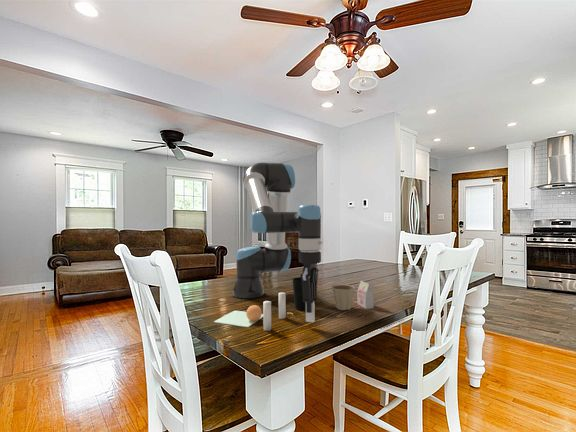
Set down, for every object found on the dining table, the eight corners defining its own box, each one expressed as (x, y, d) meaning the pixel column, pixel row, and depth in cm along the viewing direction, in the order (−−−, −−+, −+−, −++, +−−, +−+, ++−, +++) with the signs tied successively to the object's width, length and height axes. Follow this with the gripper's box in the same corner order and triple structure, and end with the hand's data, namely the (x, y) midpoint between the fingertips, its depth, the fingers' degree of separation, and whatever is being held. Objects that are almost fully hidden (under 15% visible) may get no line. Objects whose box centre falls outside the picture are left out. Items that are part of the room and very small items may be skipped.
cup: (309, 311, 114) (309, 281, 114) (291, 310, 115) (290, 280, 116) (312, 306, 121) (311, 277, 122) (294, 305, 123) (294, 276, 123)
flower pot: (330, 304, 123) (330, 284, 123) (352, 304, 122) (352, 284, 123) (333, 311, 113) (333, 289, 114) (357, 311, 113) (357, 289, 113)
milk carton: (364, 303, 124) (364, 280, 124) (373, 308, 118) (373, 283, 118) (357, 304, 123) (356, 281, 123) (365, 309, 117) (365, 284, 117)
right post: (280, 316, 108) (280, 292, 109) (286, 316, 107) (286, 292, 108) (277, 318, 106) (277, 293, 106) (284, 319, 105) (283, 294, 105)
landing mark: (234, 310, 115) (234, 310, 115) (266, 314, 110) (266, 314, 110) (213, 322, 102) (213, 321, 102) (247, 327, 97) (247, 326, 97)
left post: (265, 327, 97) (265, 300, 97) (272, 328, 96) (272, 301, 96) (262, 330, 94) (261, 302, 94) (269, 331, 93) (269, 303, 93)
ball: (266, 315, 105) (254, 320, 106) (260, 301, 106) (248, 306, 107) (260, 320, 100) (247, 325, 101) (253, 305, 100) (241, 311, 102)
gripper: (314, 253, 89) (315, 329, 89) (325, 249, 101) (326, 316, 101) (292, 252, 92) (292, 326, 92) (305, 248, 104) (305, 314, 104)
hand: (310, 321), depth 96 cm, fingers closed
